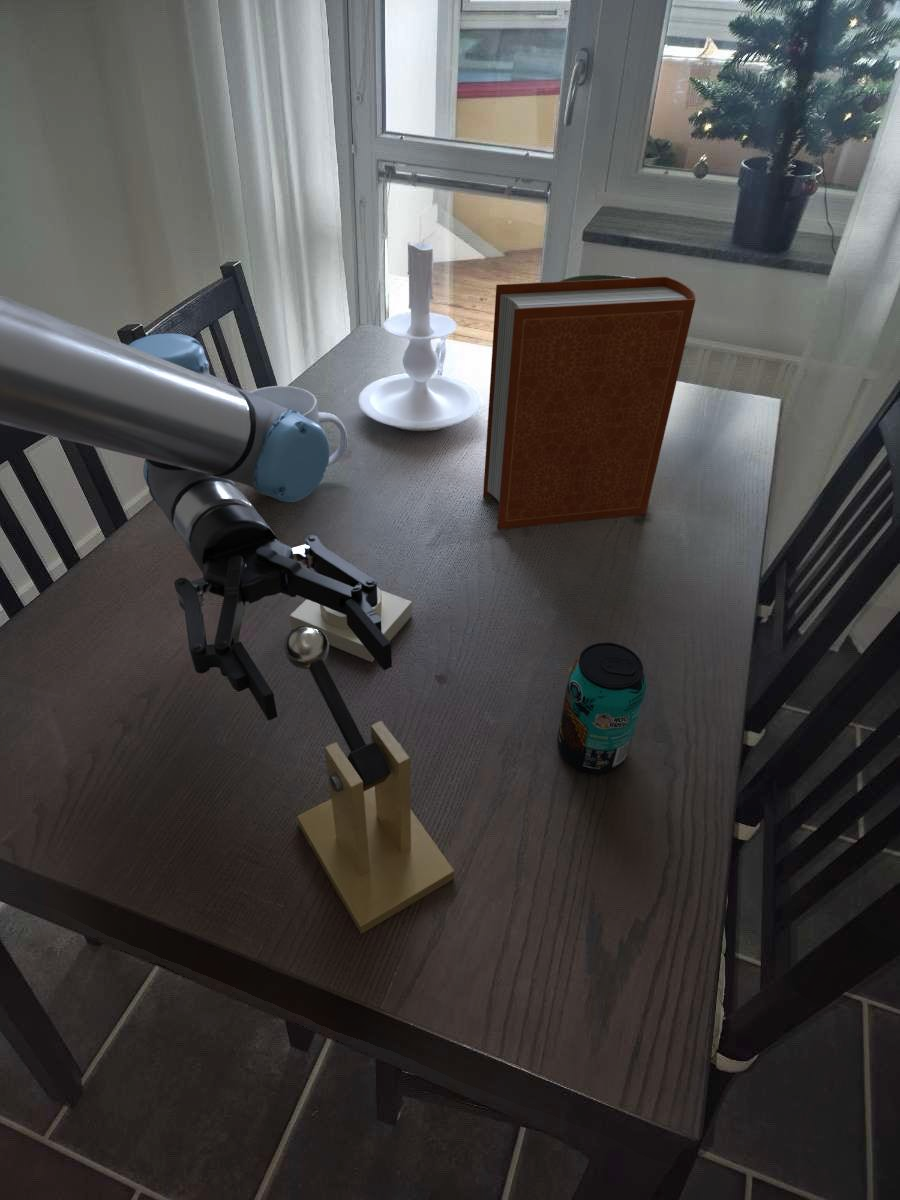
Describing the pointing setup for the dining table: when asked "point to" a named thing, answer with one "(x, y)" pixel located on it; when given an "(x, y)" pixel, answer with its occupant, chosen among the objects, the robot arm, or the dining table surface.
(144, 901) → the dining table surface
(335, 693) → the switch lever
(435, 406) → the candlestick
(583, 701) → the beverage can
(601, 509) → the book
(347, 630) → the switch box
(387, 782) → the switch bracket
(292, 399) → the mug
